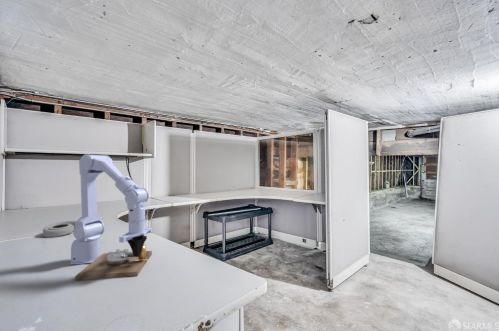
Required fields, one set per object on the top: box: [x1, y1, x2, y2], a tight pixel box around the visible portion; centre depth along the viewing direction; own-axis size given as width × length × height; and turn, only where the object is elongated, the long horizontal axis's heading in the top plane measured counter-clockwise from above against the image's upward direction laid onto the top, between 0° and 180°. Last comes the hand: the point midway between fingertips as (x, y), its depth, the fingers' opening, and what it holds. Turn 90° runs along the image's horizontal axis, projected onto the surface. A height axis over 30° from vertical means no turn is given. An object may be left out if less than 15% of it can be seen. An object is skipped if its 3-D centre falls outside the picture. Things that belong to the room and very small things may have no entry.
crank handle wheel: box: [107, 244, 147, 265], centre depth 95 cm, size 14×8×6 cm, turn 94°
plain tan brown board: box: [74, 250, 153, 281], centre depth 94 cm, size 21×22×2 cm
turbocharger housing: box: [42, 220, 77, 238], centre depth 142 cm, size 17×6×15 cm
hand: (136, 256), depth 92 cm, fingers closed
